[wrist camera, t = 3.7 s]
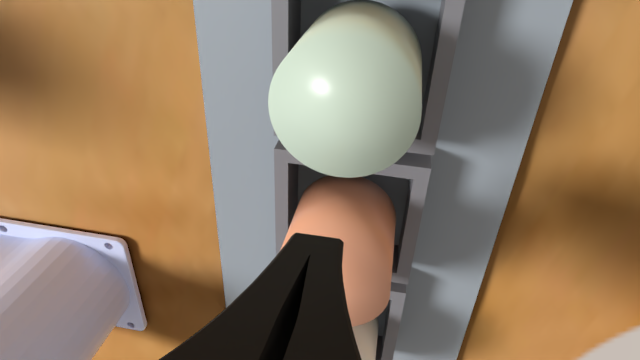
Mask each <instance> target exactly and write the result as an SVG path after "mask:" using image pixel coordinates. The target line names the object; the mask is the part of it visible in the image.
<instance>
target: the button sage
mask: <svg viewBox="0 0 640 360" xmlns="http://www.w3.org/2000/svg"><path fill="white" fill-rule="evenodd" d="M268 108H269V115H270V120H271V123H272V126H273V128H274V131H275V133H276V135H277V137H278V139H279V140H280V141H281V143H282V144H283V146H284V147H285V148H286V149H287V150H288V152H289V153H290V154H291V155H292V156H294V157H295V158H296V159H297V160H298V161H300V162H301V163H302V164H304V165H306V166H307V167H309V168H311V169H313V170H315V171H318V172H320V173H323V174H326V175H330V176H335V177H344V178H354V177H363V176H368V175H371V174H375V173H377V172H380V171H382V170H384V169H386V168H388V167H389V166H391V165H392V164H394V163H395V162H397V161H398V160H399V159H400V158H401V157H402V156H403V155H404V154H405V153H406V152H407V150H408V149H409V148H410V147H411V145H412V143H413V141H414V140H415V138H416V135H417V133H418V130H419V127H420V123H421V115H422V53H421V48H420V43H419V40H418V37H417V35H416V33H415V31H414V29H413V28H412V26H411V25H410V23H409V22H408V21H407V20H406V19H405V18H404V17H403V16H402V15H401V14H400V13H399V12H397V11H396V10H394V9H393V8H391V7H389V6H387V5H385V4H383V3H380V2H376V1H372V0H350V1H346V2H342V3H339V4H337V5H335V6H332V7H331V8H329V9H328V10H326V11H325V12H323V13H322V14H321V15H320V16H319V17H318V18H317V19H316V20H315V21H314V22H313V24H312V25H311V26H310V27H309V29H308V30H307V31H306V32H305V33H304V35H303V36H302V37H301V38H300V40H299V41H298V42H297V43H296V45H295V46H294V47H293V48H292V49H291V51H290V52H289V53H288V54H287V56H286V57H285V58H284V59H283V61H282V62H281V63H280V65H279V66H278V68H277V70H276V72H275V74H274V76H273V78H272V81H271V84H270V89H269V94H268Z"/></svg>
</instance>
